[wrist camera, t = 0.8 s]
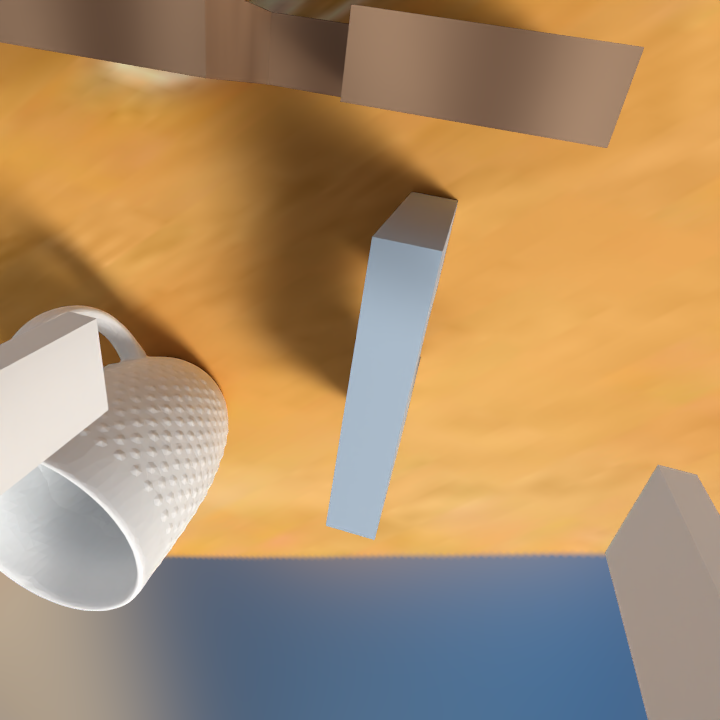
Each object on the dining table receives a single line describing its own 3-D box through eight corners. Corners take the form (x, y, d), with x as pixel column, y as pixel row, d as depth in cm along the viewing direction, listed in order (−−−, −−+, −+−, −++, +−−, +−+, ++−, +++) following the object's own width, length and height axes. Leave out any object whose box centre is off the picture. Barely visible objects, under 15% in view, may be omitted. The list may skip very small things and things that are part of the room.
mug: (62, 292, 33) (-159, 387, 22) (194, 256, 29) (13, 349, 18) (157, 465, 39) (22, 612, 28) (278, 453, 35) (179, 616, 24)
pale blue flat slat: (405, 420, 31) (374, 539, 23) (369, 411, 32) (326, 525, 23) (458, 200, 25) (442, 251, 16) (411, 191, 25) (372, 236, 16)
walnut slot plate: (163, 63, 25) (-10, 40, 16) (160, 6, 24) (-28, -52, 15) (560, 132, 22) (607, 147, 14) (579, 71, 21) (644, 47, 12)
